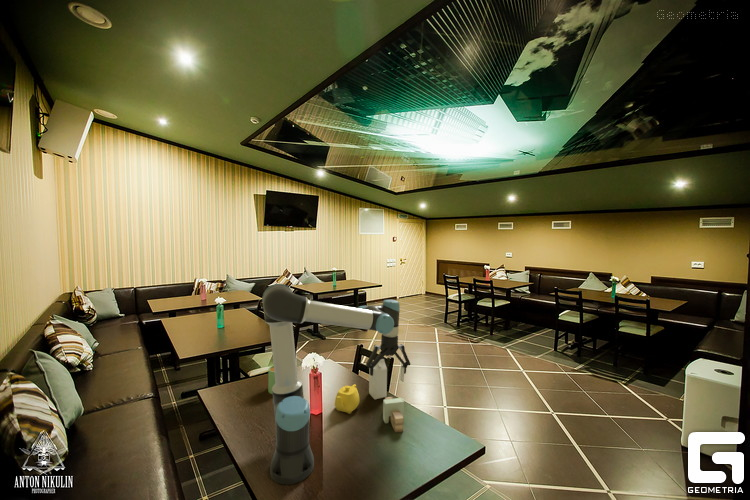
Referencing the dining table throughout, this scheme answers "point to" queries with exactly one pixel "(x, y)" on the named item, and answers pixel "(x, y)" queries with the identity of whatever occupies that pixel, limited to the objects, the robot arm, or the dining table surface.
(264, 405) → the dining table surface
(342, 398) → the teapot
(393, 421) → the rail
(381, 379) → the milk carton
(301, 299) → the robot arm
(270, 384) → the mug
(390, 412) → the block
